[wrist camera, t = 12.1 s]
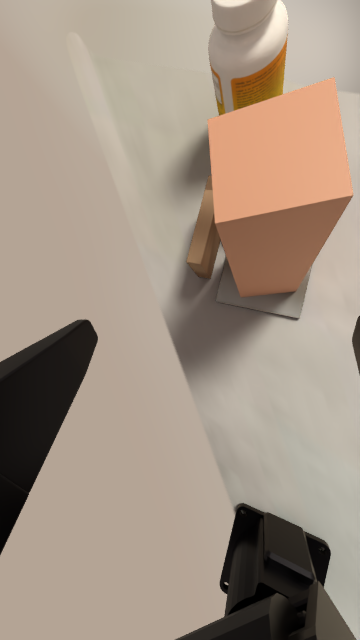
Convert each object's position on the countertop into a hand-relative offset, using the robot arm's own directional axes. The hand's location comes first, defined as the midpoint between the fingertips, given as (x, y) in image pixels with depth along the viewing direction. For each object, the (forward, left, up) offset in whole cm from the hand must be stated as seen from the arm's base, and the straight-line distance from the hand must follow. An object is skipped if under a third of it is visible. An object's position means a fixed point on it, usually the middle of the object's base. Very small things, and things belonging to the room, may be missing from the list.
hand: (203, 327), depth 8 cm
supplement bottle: (+21, +4, -14) cm, 25 cm away
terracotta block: (+7, -1, -13) cm, 15 cm away
